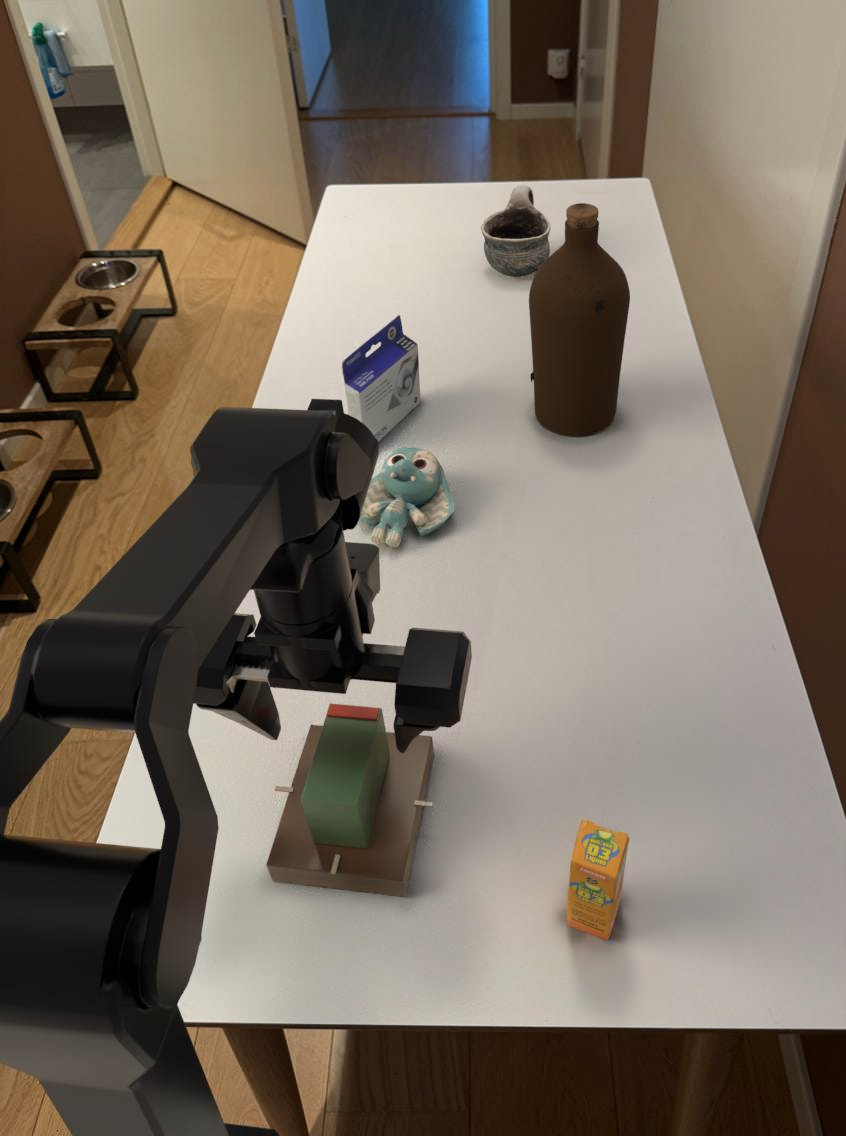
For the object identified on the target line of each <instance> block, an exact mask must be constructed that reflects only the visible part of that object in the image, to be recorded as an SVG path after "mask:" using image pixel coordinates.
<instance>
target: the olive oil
mask: <svg viewBox="0 0 846 1136" xmlns="http://www.w3.org/2000/svg"><path fill="white" fill-rule="evenodd" d="M565 216H566V220H565V221H564V243H563V244H562V245H561V246H560V247H559V248H558V249H557V250H556V251H555V252H553V253H552V254H551V255H549V258H548V259H546V260H545V261H544V262H543V263H542V264H541V266H540V267H539V268H538V270H537V271H536V272H534V276H533V279H532V281H531V284H530V288H529V294H528V309H529V326H530V340H531V341H530V342H531V358H532V372H531V373H530V383H531V384H532V382H533V398H534V399H533V401H534V404H533V405H534V415H535V418H536V420H537V421H538V423H539V424H540V425H541V426H542V427H543V428H544V429H546V430H548V431H550V432H552V433H555V434H557V435H560V436H565V437H575V438H576V437H577V438H578V437H587V436H591V435H595V434H598V433H600V432H602V431H604V430H605V429H607V428H609V426H610V425H612V423H613V422H614V420H615V418H616V416H617V415H616V414H617V406H618V396H619V389H620V388H619V387H620V377H621V371H622V364H623V363H622V362H623V354H624V347H625V340H626V333H627V324H628V318H629V311H630V304H631V292H630V285H629V282H628V278H627V275H626V273H625V271H624V269H623V268H622V266H621V265H620V263H618V262H617V260H615V258H613V257H612V255H610V254H609V253H608V252H607V251H606V250H605V249H604V248H603V247H602V246H601V245H600V244H599V242H598V240H599V229H600V222H599V220H598V219H599V208H598V207H597V206H596V205H594V204H591V203H586V202H580V203H574V204H571V205H569V206H568V207H567V208H566V213H565Z"/></svg>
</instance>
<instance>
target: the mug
mask: <svg viewBox="0 0 846 1136" xmlns="http://www.w3.org/2000/svg"><path fill="white" fill-rule="evenodd" d="M534 198H535V197H534V192H533V189H532V188H531V187H530V186H527V185H517V186H515V187H514V188H513V189H512V191H511V193H510V196H509V199H508V202H507V204H506V205H505V208H504V209H502V210H499V211H496V212H494V213H492V214H491V215H489V216H488V217H486V218H485V219H484V220H483V222H482V224H481V226H480V230H481V234H482V236H483V239H484V242H483V253H484V255H485V259H486V260H487V261H486V262H488V264H489V265H490V267H491V268H492V269H494V270H495V271H497V272H498V273H500V274H502V275H504V276H509V277H513V278H514V277H516V278H521V277H525V276H529V275H531V274H535V273H536V271H537V270H538V268H539V267H540V266H541V264H542V263H543V262H544V261H545V260H546V259H548V258H549V257H550V254H551V249H550V248H551V246H550V241H549V236H550V232H551V227H552V226H551V224H550V222H549V220H548V218H547V217H546V215H545V214H544V213H543V212H541V211H540V210H539V209H538V208H537V207H536V206H535V205H534V204H535V199H534Z"/></svg>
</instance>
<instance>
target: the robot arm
mask: <svg viewBox="0 0 846 1136" xmlns="http://www.w3.org/2000/svg"><path fill="white" fill-rule="evenodd" d="M189 452H190V465H191V468H192V474H193V477H192V479H191V480H190V482H189V484H188V485H187V487H186V488H185V489H184V490H183V491H181V493H180V494H179V495H178V496H177V497H176V498H175V500H174V501H172V502H171V504H169V506H168V507H167V508H166V509H165V510H164V511H163V512H162V513H161V514H160V515H159V516H158V518H156V520H155V521H154V522H153V523H152V524H151V525H150V526H149V527H148V528H147V529H146V531H145V532H144V533H143V534H141V536H140V537H139V538H138V539H137V540H136V541H135V542H134V544H132V545H131V547H129V548H128V550H127V551H126V552H125V553H124V554H123V555H122V556H121V557H120V558H119V559H118V560H117V561H116V562H115V564H114V565H113V566H112V567H111V568H110V569H109V570H108V571H107V572H106V574H104V575H103V577H102V578H101V579H100V580H99V581H98V582H97V583H96V584H95V585H94V586H93V587H92V588H91V589H90V591H89V592H88V593H87V594H86V595H84V597H83V598H82V599H81V600H80V601H79V602H78V603H77V604H76V605H75V607H73V609H71V610H70V611H68V612H66V613H64V614H62V615H60V616H59V617H58V618H47V619H46V620H44V621H42V622H40V624H38V625H37V626H36V627H35V629H34V630H33V631H32V632H31V634H30V636H29V637H28V639H27V641H26V643H25V645H24V648H23V652H22V655H21V657H20V661H19V664H18V665H19V666H18V670H17V674H16V677H15V682H14V686H13V690H12V695H11V698H10V703H9V707H8V710H7V712H6V713H5V714H4V715H3V717H2V719H0V1064H1V1065H3V1066H6V1067H8V1068H12V1069H14V1070H15V1071H19V1072H21V1073H24V1074H27V1075H29V1076H31V1077H32V1078H34V1079H36V1080H37V1081H38V1082H39V1084H40V1085H41V1087H42V1089H43V1091H44V1092H45V1093H46V1095H47V1097H48V1098H49V1100H50V1102H51V1103H52V1105H53V1107H54V1109H55V1110H56V1112H57V1114H58V1115H59V1116H60V1118H61V1120H62V1121H63V1124H64V1125H65V1127H66V1128H67V1129H68V1131H69V1133H70V1135H71V1136H281V1135H280V1134H279V1133H278V1131H277V1130H276V1129H274V1128H269V1127H261V1126H252V1125H246V1124H238V1123H237V1124H236V1123H230V1122H229V1123H227V1122H224V1119H223V1117H222V1114H221V1111H220V1109H219V1106H218V1104H217V1101H216V1099H215V1096H214V1094H213V1091H212V1089H211V1087H210V1084H209V1080H208V1079H207V1076H206V1074H205V1071H204V1069H203V1066H202V1063H201V1061H200V1059H199V1055H198V1053H197V1050H196V1048H195V1046H194V1043H193V1041H192V1038H191V1036H190V1033H189V1030H188V1028H187V1025H186V1023H185V1021H184V1018H183V1016H182V1013H181V1011H180V1008H179V1006H178V1004H179V1001H180V1000H181V998H182V996H183V994H184V992H185V991H186V988H187V987H188V985H189V983H190V979H191V977H192V974H193V971H194V970H195V969H194V968H195V967H196V961H197V958H198V953H199V949H200V945H201V942H202V940H203V939H202V934H203V933H202V932H203V927H204V920H205V914H206V907H207V903H208V902H207V901H208V895H209V889H210V883H211V879H212V877H211V876H212V870H213V865H214V860H215V859H214V858H215V853H216V846H217V841H218V834H219V818H218V813H217V811H216V808H215V805H214V803H213V799H212V797H211V794H210V791H209V788H208V786H207V782H206V779H205V776H204V774H203V771H202V768H201V766H200V762H199V760H198V757H197V753H196V751H195V748H194V745H193V742H192V739H191V736H190V731H189V730H190V724H191V719H192V713H193V708H194V704H195V705H196V707H197V708H198V709H200V710H203V711H209V712H213V713H215V714H217V715H219V716H222V717H223V718H226V719H228V720H231V721H233V722H235V723H237V724H240V725H241V726H244V727H246V728H248V729H250V730H252V731H253V732H255V733H257V734H259V735H261V736H263V737H265V738H267V739H269V740H271V741H277V740H278V739H279V736H280V734H281V730H282V725H281V718H280V713H279V710H278V707H277V704H276V701H275V699H274V694H273V692H272V689H271V688H274V689H285V690H286V689H287V690H296V691H307V692H319V693H329V694H339V695H340V694H341V695H346V694H347V691H348V687H349V685H350V681H352V680H354V681H355V680H357V681H368V682H379V683H390V684H395V689H394V690H395V691H394V704H393V705H394V711H395V717H394V720H393V733H395V740H396V747H397V749H398V750H399V752H400V753H405V752H406V751H407V749H408V747H409V745H410V744H411V742H412V740H413V739H414V738H416V737H417V736H418V735H421V734H422V733H423V732H435V731H437V730H439V729H440V728H452V727H453V726H455V725H456V724H458V723H460V722H461V719H462V715H463V708H464V703H465V697H466V693H467V688H468V687H467V686H468V681H469V675H470V669H471V663H472V660H473V659H472V658H473V654H472V653H473V652H472V640H471V639H470V638H469V637H468V636H467V634H466V632H465V631H462V630H448V629H436V628H422V627H410V628H409V629H408V633H407V637H406V642H405V644H404V646H402V645H390V644H379V643H368V642H367V643H366V642H364V634H365V635H371V634H372V632H373V627H374V625H375V621H376V618H375V613H374V608H373V602H374V601H375V599H376V597H377V594H379V593H380V591H381V569H380V567H381V566H380V565H381V564H380V548H379V547H378V545H376V544H372V543H365V542H354V541H353V542H351V541H346V539H345V534H344V531H346V530H347V531H348V530H354V529H356V527H357V525H358V524H359V520H360V518H361V512H362V509H363V505H364V502H365V499H366V496H367V492H368V489H369V486H370V482H371V479H372V478H373V477H374V476H373V475H374V472H375V469H376V466H377V462H378V459H379V457H380V444H379V442H378V440H377V439H376V438H375V437H374V435H373V433H372V432H371V431H370V430H369V429H368V427H367V426H366V425H364V424H363V423H362V422H360V421H359V420H358V419H356V418H354V417H352V416H350V415H349V414H347V413H345V411H344V403H343V400H342V399H331V398H328V399H327V398H311V400H310V402H309V404H308V406H307V409H287V408H286V409H285V408H266V407H265V408H264V407H263V408H262V407H259V408H258V407H239V406H236V407H235V406H221V407H218V408H217V409H216V410H215V411H214V412H213V413H212V414H211V416H210V417H209V418H208V419H207V421H206V422H205V424H204V425H203V427H202V429H200V431H199V432H198V434H197V436H196V437H195V439H194V440H193V442H192V443H191V445H190V447H189ZM250 591H253V593H254V597H255V600H256V605H257V608H258V611H259V615H260V617H259V620H258V622H256V619H255V618H256V617H255V614H252V613H239V612H237V610H238V609H239V607H240V606H241V605H242V603H243V601H244V599H245V598H246V597H247V595H248V594H249V592H250ZM251 634H254V636H250V635H251ZM72 729H82V730H93V731H107V732H119V733H132V734H135V736H136V740H137V742H138V745H139V748H140V751H141V754H142V758H143V760H144V763H145V766H146V770H147V772H148V775H149V779H150V782H151V785H152V788H153V791H154V795H155V797H156V800H157V803H158V806H159V809H160V812H161V816H162V818H163V821H164V829H163V835H162V841H161V846H160V848H155V847H143V846H131V845H122V844H109V843H99V842H89V841H78V840H68V839H55V838H46V837H37V836H35V837H34V836H23V835H13V834H5V831H6V827H7V822H8V818H9V813H10V810H11V808H12V806H13V805H14V803H15V802H16V801H17V800H18V798H20V796H21V795H22V793H23V792H24V791H25V789H26V788H27V787H28V786H29V784H30V783H31V782H32V780H33V779H34V778H35V777H36V775H37V774H38V773H39V772H40V770H41V769H42V768H43V767H44V765H46V763H47V761H48V760H49V759H50V757H51V756H52V755H53V754H54V752H55V751H56V750H57V749H58V747H59V746H60V745H61V744H62V742H63V741H64V740H65V739H66V737H67V736H68V734H69V733H70V732H71V730H72Z"/></svg>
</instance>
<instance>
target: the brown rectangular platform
mask: <svg viewBox="0 0 846 1136" xmlns="http://www.w3.org/2000/svg"><path fill="white" fill-rule="evenodd" d="M322 727H323V725H317V724H310V726H309V729H308V732H307V735H306V739H305V742H304V745H303V747H302V750H301V754H300V757H299V760H298V764H297V767H296V770H295V772H294V776H293V779H292V782H291V786H283V785H282V786H281V785H276V786H275V788H274V792H281V793H288V795H287V797H286V798H287V799H286V802H285V805H284V807H283V811H282V814H281V818H280V820H279V824H278V827H277V830H276V833H275V836H274V839H273V842H272V846H271V849H270V851H269V855H268V858H267V861H266V868H267V870H268V873H269V876H270V879H271V881H272V882H275V883H276V882H277V883H284V884H285V883H286V884H292V885H293V884H294V885H301V886H309V887H310V886H311V887H318V888H327V889H334V890H335V889H336V890H343V891H352V892H360V893H369V894H377V895H385V896H394V897H403V898H406V897H407V893H408V888H409V885H410V884H409V883H410V878H411V873H412V868H413V862H414V858H415V854H416V849H417V843H418V837H419V833H420V828H421V824H422V823H421V822H422V818H423V814H424V813H423V812H424V808H433V806H434V802H433V801H426V797H427V793H428V788H429V783H430V778H431V772H432V767H433V763H434V756H435V750H434V742H433V740H434V739H433V736H431V735H423V734H419V735H418V736H417V737H416V738H414V739H413V740H412V742H411V744H410V745H409V747H408V749H407V751H406V752H405V753H400V752H399V750H398V749H397V747H396V740H395V733H394V732H390V731H386V735H387V740H388V746H389V752H390V756H389V760H388V764H387V768H386V772H385V777H384V781H383V785H382V789H381V793H380V798H379V802H378V806H377V810H376V814H375V819H374V823H373V827H372V831H371V835H370V840H369V844H368V848H367V849H364V848H355V847H346V846H337V845H328V844H320V843H314V841H313V838H312V835H311V831H310V828H309V825H308V822H307V818H306V815H305V812H304V808H303V805H302V802H301V796H302V793H303V790H304V786H305V783H306V780H307V777H308V773H309V770H310V767H311V763H312V760H313V757H314V754H315V750H316V747H317V744H318V741H319V737H320V734H321V731H322Z"/></svg>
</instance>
